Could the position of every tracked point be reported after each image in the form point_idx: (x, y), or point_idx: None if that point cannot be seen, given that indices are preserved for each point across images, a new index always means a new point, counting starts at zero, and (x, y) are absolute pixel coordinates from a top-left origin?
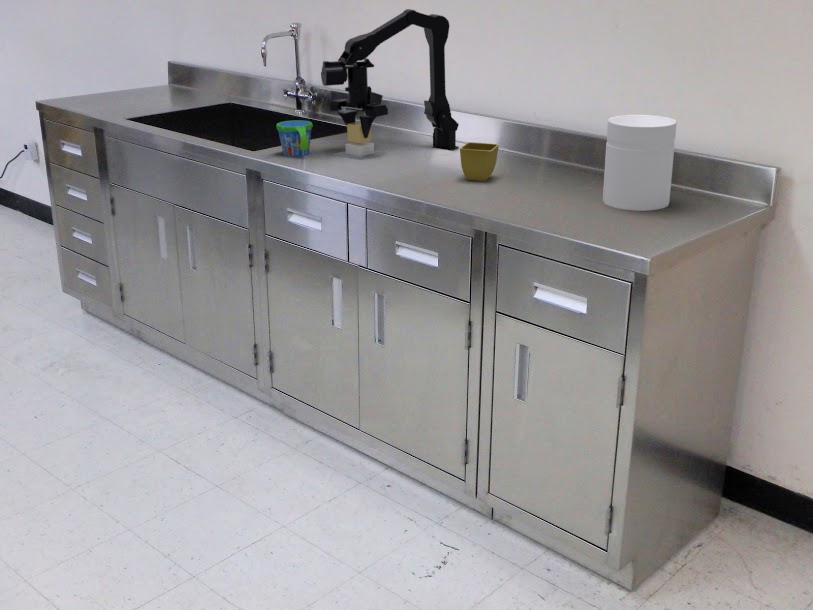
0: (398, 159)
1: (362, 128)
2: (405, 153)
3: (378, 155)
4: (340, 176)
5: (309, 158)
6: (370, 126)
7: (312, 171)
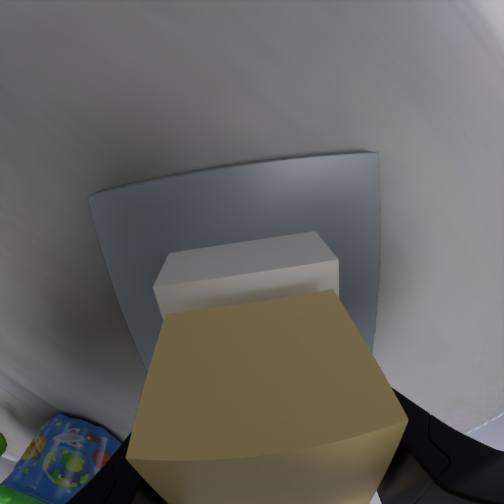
0: (454, 173)
1: None
2: (378, 27)
3: (379, 249)
4: None
5: None
6: (433, 425)
7: None
